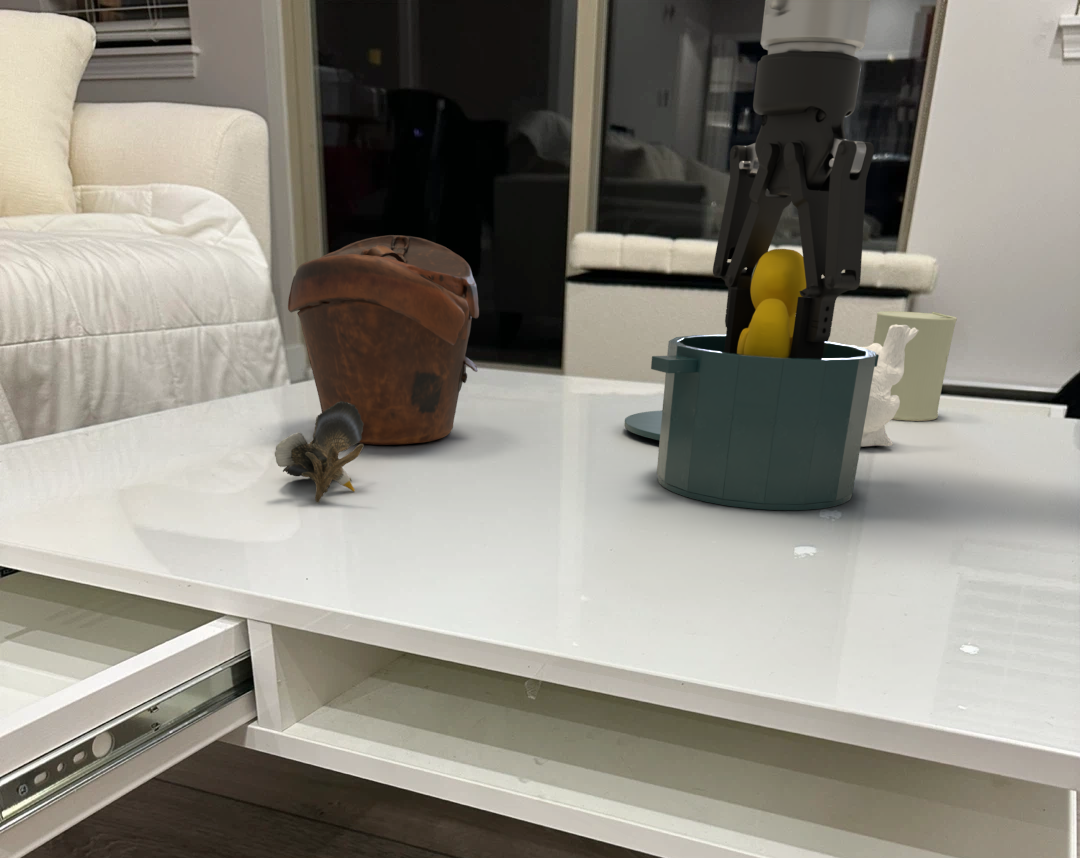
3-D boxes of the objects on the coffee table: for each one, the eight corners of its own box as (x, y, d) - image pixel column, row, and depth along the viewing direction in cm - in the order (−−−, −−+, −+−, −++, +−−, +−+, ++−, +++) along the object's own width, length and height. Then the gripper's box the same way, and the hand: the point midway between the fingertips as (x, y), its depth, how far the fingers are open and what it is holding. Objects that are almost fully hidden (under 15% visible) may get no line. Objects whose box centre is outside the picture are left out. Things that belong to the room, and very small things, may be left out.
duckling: (740, 368, 94) (755, 245, 89) (802, 373, 92) (820, 249, 88) (725, 385, 84) (741, 248, 79) (794, 391, 82) (814, 252, 78)
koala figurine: (879, 437, 115) (900, 320, 110) (920, 450, 109) (944, 328, 104) (814, 440, 112) (832, 320, 107) (852, 453, 106) (873, 327, 101)
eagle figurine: (393, 487, 80) (384, 442, 87) (338, 410, 76) (334, 369, 83) (310, 538, 81) (308, 489, 88) (252, 465, 77) (255, 420, 84)
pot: (916, 498, 90) (945, 356, 85) (709, 521, 80) (727, 362, 75) (788, 458, 103) (805, 333, 98) (595, 473, 93) (604, 336, 88)
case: (344, 461, 93) (336, 238, 85) (268, 421, 108) (255, 229, 100) (517, 447, 102) (524, 244, 94) (424, 412, 117) (423, 235, 109)
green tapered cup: (935, 423, 125) (957, 316, 119) (856, 415, 127) (874, 310, 122) (938, 412, 132) (959, 311, 127) (863, 405, 135) (880, 305, 130)
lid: (829, 447, 108) (835, 406, 107) (688, 458, 100) (693, 413, 99) (723, 417, 122) (727, 380, 120) (592, 425, 114) (595, 385, 113)
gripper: (687, 61, 84) (661, 362, 94) (873, 32, 68) (818, 398, 78) (761, 71, 87) (728, 360, 97) (955, 45, 71) (892, 394, 81)
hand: (768, 376), depth 87 cm, fingers closed on duckling, 8 cm apart
